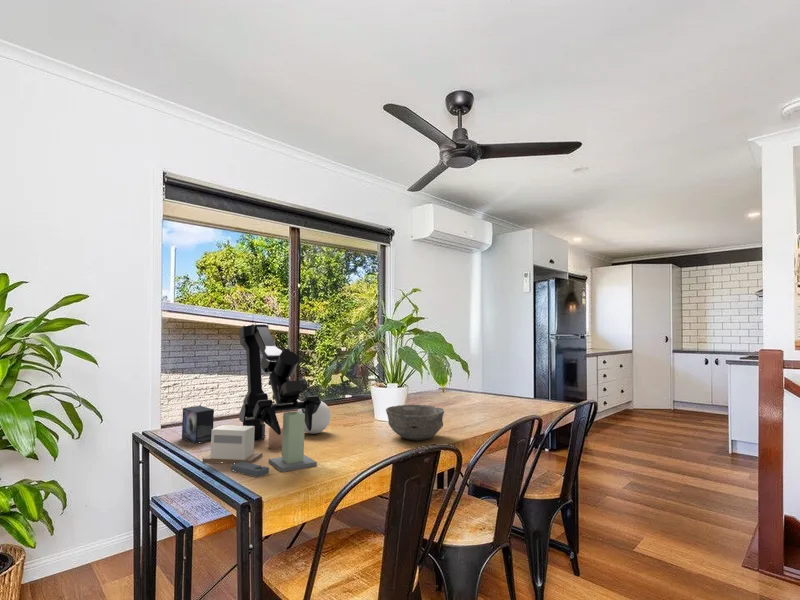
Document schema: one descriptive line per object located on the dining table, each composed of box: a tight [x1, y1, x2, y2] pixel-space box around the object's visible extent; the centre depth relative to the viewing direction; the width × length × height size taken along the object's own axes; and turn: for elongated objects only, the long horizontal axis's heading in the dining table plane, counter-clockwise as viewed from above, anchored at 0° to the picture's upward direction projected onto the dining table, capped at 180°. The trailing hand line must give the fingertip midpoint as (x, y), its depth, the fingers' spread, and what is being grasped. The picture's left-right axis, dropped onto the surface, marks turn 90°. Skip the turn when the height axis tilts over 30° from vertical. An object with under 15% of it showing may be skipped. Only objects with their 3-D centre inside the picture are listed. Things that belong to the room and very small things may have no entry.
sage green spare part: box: [281, 410, 305, 464], centre depth 123 cm, size 4×4×13 cm
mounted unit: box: [202, 424, 263, 464], centre depth 127 cm, size 14×8×9 cm, turn 84°
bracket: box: [230, 461, 270, 478], centre depth 116 cm, size 4×10×2 cm, turn 60°
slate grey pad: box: [268, 454, 318, 473], centre depth 123 cm, size 10×10×1 cm
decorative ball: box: [298, 400, 332, 435], centre depth 161 cm, size 12×12×12 cm
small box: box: [181, 405, 215, 444], centre depth 150 cm, size 11×6×10 cm, turn 50°
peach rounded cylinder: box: [268, 425, 283, 450], centre depth 141 cm, size 5×5×6 cm
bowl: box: [385, 404, 445, 442], centre depth 156 cm, size 21×21×10 cm
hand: (295, 432), depth 122 cm, fingers open, 9 cm apart
